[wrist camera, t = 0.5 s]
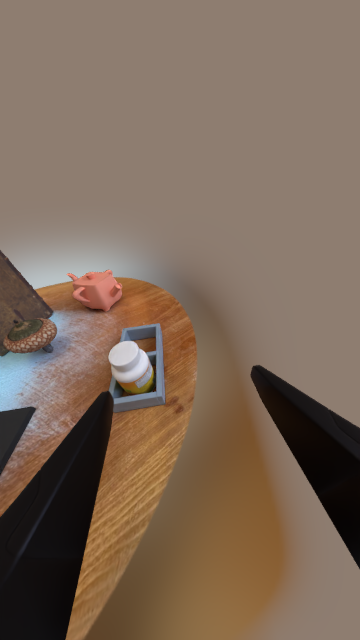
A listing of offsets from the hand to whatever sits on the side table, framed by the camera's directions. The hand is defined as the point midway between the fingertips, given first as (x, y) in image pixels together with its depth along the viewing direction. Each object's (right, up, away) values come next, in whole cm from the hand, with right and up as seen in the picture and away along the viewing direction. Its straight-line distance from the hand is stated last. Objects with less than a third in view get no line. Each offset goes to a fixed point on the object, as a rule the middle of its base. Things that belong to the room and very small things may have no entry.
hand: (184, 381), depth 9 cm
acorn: (-30, -3, +24) cm, 39 cm away
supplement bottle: (-7, -8, +17) cm, 20 cm away
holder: (-8, -5, +20) cm, 22 cm away
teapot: (-24, +9, +37) cm, 45 cm away
